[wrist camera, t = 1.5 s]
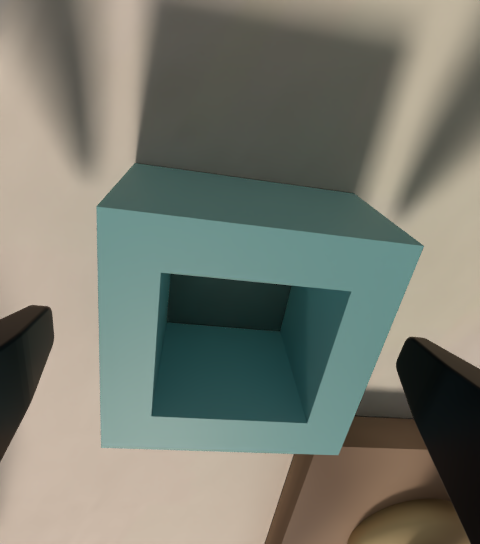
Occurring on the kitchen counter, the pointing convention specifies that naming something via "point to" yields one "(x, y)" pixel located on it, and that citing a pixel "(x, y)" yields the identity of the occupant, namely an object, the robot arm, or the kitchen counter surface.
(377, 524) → the stand
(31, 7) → the kitchen counter surface
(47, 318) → the robot arm
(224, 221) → the collar
